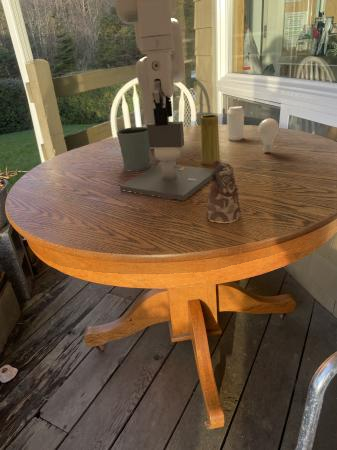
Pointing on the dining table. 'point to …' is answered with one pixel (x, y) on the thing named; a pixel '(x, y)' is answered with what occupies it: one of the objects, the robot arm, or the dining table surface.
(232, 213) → the figurine
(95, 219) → the dining table surface
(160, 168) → the post base
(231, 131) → the beverage can
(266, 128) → the lightbulb
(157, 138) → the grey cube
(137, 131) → the grey-green cup
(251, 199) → the dining table surface
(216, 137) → the vase
